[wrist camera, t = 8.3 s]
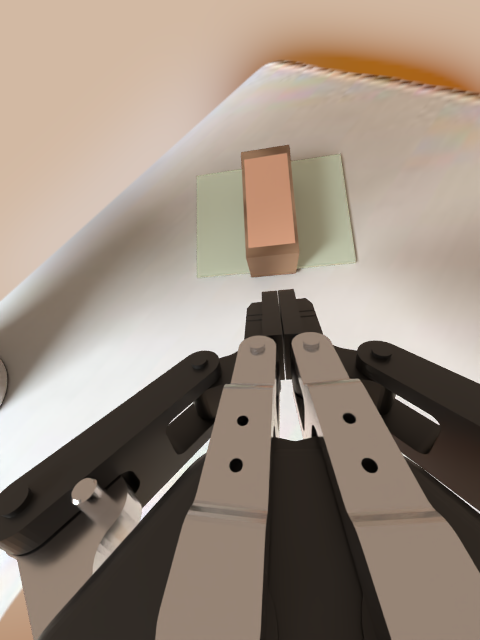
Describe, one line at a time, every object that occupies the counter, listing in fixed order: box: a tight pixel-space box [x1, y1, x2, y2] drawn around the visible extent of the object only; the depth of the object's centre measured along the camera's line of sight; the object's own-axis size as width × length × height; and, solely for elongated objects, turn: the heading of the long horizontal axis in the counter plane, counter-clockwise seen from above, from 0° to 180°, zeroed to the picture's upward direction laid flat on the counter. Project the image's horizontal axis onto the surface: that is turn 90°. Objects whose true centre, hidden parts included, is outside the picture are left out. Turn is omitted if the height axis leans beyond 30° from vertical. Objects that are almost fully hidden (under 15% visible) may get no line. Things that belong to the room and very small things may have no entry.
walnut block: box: [241, 145, 300, 277], centre depth 27 cm, size 5×5×12 cm
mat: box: [197, 154, 356, 278], centre depth 30 cm, size 18×14×1 cm
